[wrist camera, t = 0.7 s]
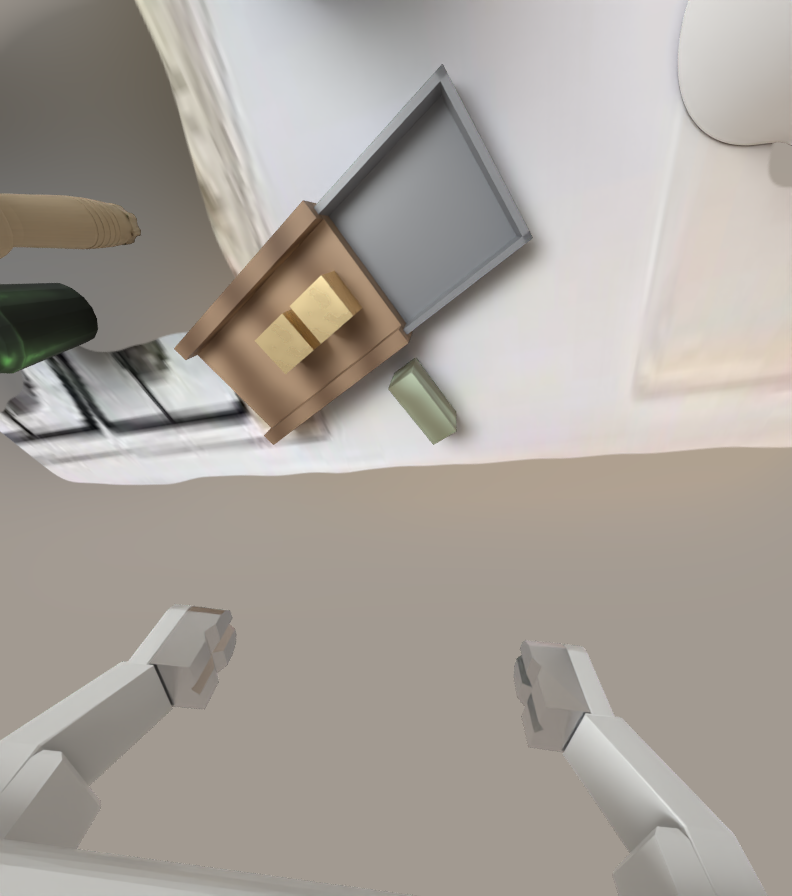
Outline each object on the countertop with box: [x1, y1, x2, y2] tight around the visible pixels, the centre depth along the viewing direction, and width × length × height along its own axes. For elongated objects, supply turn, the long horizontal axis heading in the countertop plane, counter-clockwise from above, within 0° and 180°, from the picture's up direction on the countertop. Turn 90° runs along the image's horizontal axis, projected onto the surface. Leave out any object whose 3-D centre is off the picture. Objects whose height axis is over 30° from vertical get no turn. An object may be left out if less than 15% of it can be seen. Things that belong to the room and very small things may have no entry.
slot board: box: [174, 200, 413, 445], centre depth 36 cm, size 20×14×5 cm
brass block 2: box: [290, 271, 363, 343], centre depth 32 cm, size 4×4×4 cm
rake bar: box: [389, 358, 457, 445], centre depth 38 cm, size 3×8×5 cm, turn 38°
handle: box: [0, 194, 141, 259], centre depth 28 cm, size 5×6×15 cm
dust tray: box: [314, 64, 533, 334], centre depth 30 cm, size 13×13×4 cm
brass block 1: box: [255, 309, 323, 374], centre depth 34 cm, size 4×4×4 cm
